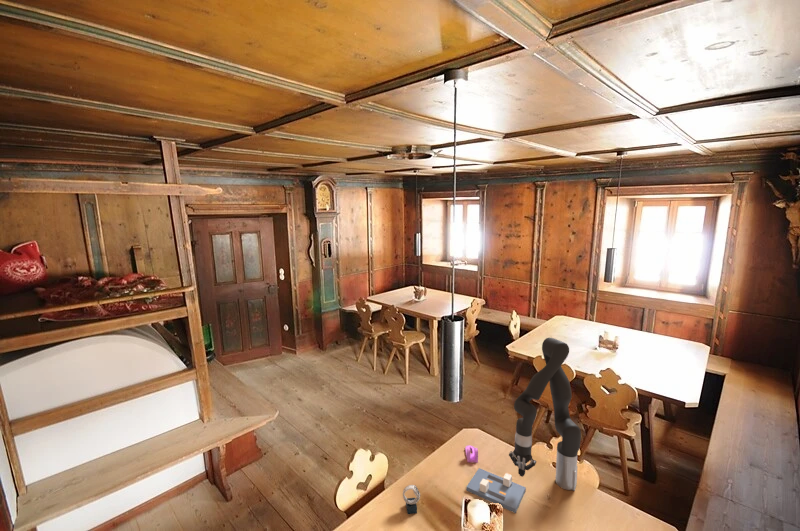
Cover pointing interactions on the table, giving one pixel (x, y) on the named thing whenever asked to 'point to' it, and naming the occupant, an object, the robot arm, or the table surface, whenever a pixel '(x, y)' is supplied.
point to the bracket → (473, 456)
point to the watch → (411, 499)
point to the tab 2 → (507, 480)
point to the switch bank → (497, 490)
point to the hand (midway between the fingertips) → (521, 475)
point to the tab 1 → (484, 485)
